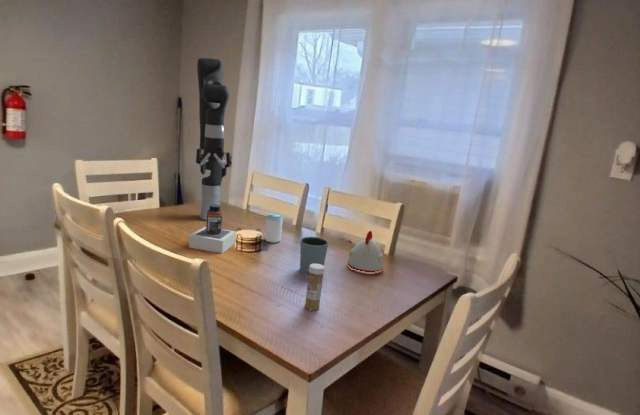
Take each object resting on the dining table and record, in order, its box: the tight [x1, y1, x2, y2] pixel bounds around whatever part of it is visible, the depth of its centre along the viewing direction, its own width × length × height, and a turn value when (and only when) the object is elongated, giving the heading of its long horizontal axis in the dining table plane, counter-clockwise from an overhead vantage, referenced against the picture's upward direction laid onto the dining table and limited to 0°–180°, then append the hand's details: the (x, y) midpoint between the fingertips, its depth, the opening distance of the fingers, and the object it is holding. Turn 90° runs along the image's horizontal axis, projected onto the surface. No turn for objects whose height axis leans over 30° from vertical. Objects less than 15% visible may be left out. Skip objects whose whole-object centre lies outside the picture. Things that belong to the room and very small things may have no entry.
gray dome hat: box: [347, 230, 384, 272], centre depth 163 cm, size 14×14×15 cm
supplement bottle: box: [205, 204, 223, 234], centre depth 168 cm, size 6×6×11 cm
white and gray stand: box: [188, 226, 237, 254], centre depth 170 cm, size 14×14×5 cm
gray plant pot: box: [299, 236, 329, 276], centre depth 153 cm, size 10×10×12 cm
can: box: [264, 212, 284, 244], centre depth 183 cm, size 7×7×12 cm
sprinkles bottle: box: [304, 264, 325, 311], centre depth 125 cm, size 5×5×14 cm
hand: (213, 175), depth 172 cm, fingers open, 8 cm apart
